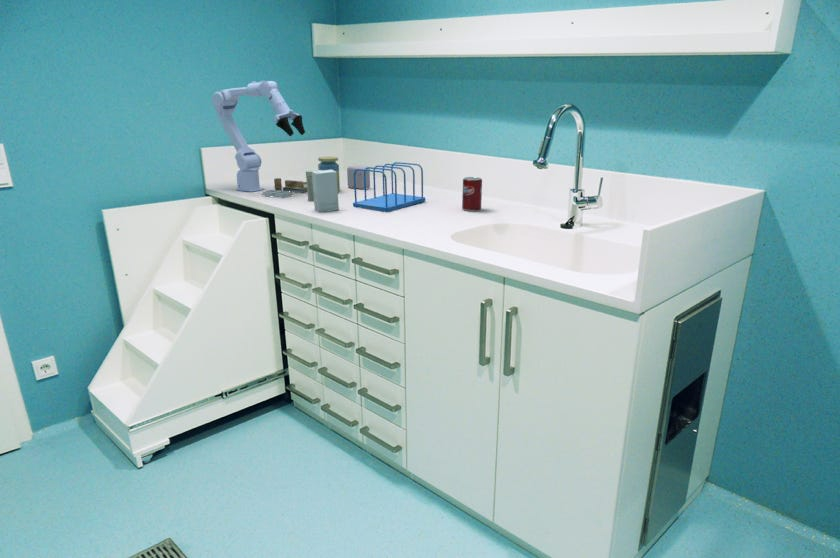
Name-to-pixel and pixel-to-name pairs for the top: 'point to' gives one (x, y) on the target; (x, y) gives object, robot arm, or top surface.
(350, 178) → the electronic device
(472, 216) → the top surface
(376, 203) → the file sorter
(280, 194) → the socket board
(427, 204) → the top surface
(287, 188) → the pattern board
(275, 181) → the peg
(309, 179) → the skincare box
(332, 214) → the top surface
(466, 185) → the soda can
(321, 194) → the skincare box
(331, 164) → the jar
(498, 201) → the top surface
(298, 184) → the cover
